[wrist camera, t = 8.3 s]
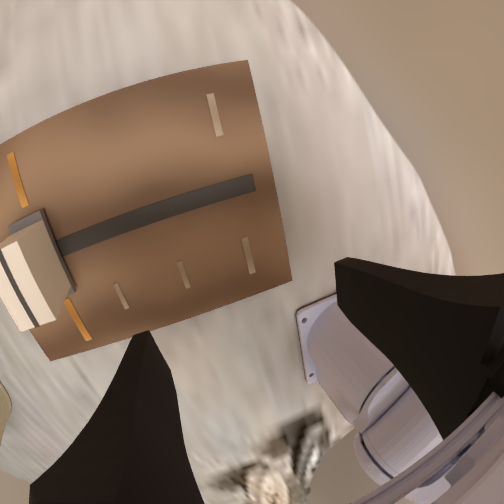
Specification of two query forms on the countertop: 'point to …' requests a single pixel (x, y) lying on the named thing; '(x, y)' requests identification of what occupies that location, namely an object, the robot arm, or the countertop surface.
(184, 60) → the countertop surface
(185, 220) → the board
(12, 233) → the fader
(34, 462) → the countertop surface
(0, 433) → the can
